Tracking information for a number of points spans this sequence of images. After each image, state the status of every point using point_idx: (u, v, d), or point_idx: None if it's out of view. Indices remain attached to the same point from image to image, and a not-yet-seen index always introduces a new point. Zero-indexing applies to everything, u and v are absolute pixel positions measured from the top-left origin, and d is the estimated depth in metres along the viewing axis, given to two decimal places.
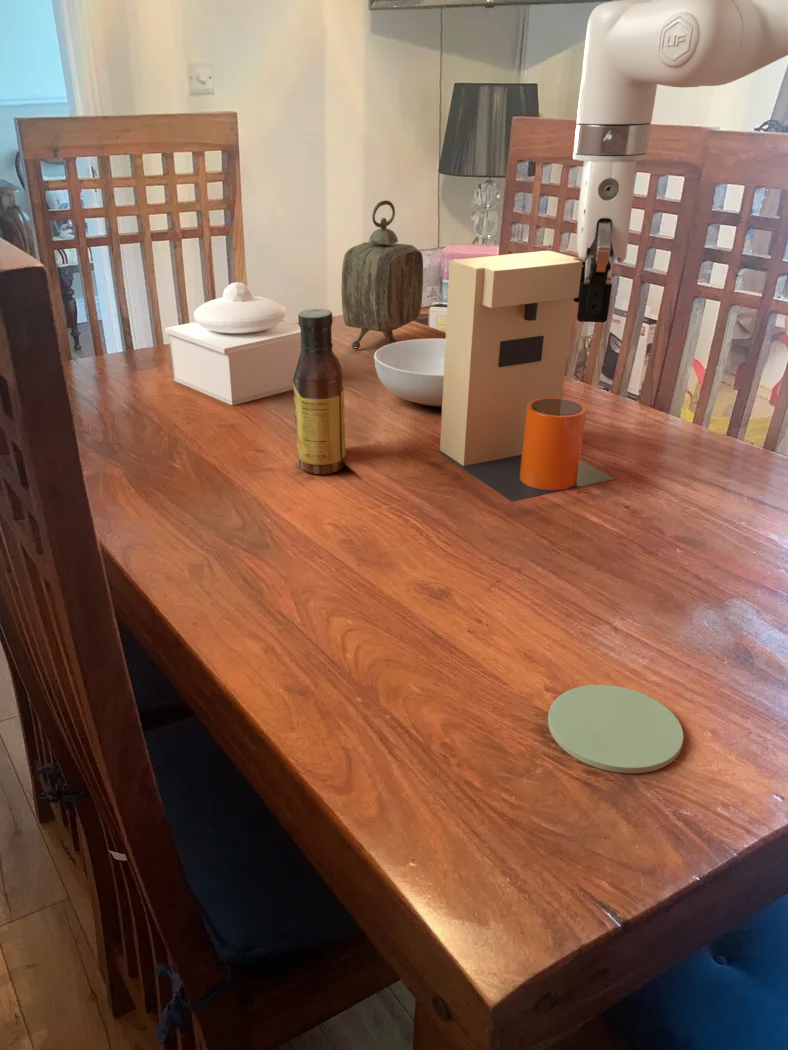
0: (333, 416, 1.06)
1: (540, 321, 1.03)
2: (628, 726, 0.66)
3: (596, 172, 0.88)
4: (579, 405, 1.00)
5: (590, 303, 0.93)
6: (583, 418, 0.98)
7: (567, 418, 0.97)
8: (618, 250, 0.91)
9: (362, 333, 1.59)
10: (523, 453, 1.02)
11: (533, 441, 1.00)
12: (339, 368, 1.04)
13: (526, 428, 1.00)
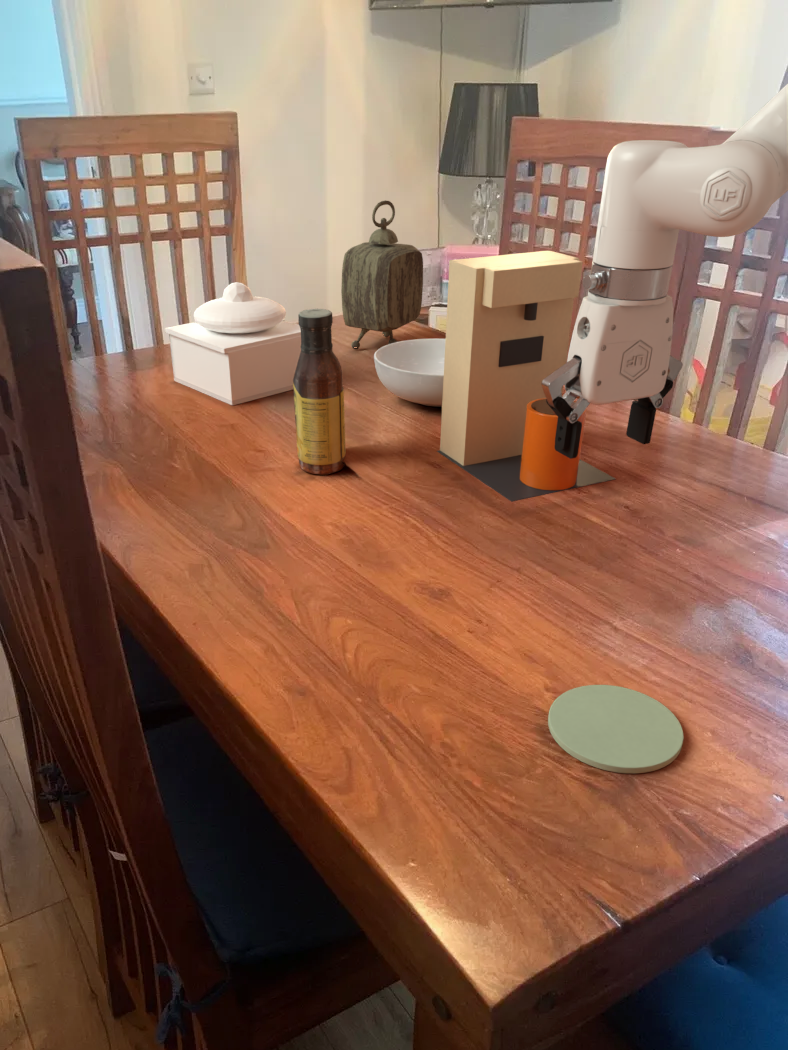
0: (333, 416, 1.06)
1: (540, 321, 1.03)
2: (628, 726, 0.66)
3: (580, 308, 0.86)
4: None
5: (557, 435, 0.91)
6: (583, 418, 0.98)
7: None
8: (584, 391, 0.87)
9: (362, 333, 1.59)
10: (523, 453, 1.02)
11: (533, 441, 1.00)
12: (339, 368, 1.04)
13: (526, 428, 1.00)
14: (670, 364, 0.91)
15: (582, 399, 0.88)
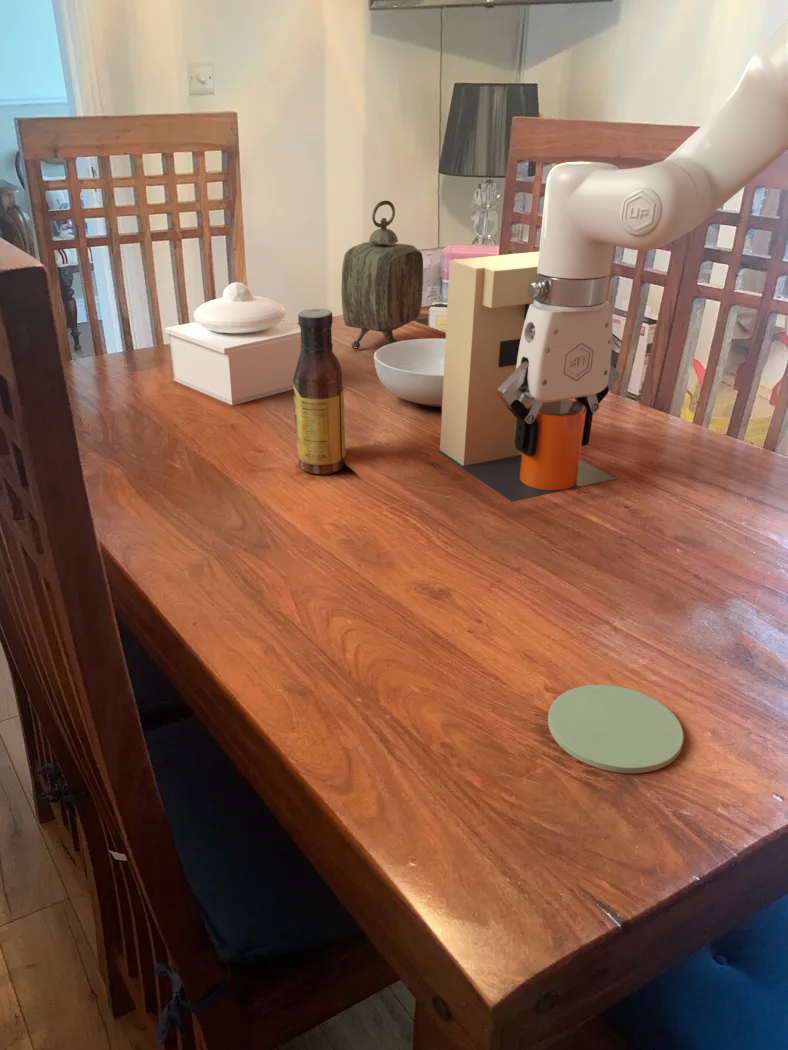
0: (333, 416, 1.06)
1: None
2: (628, 726, 0.66)
3: (527, 314, 0.94)
4: (579, 405, 1.00)
5: (517, 435, 1.00)
6: (583, 418, 0.98)
7: (567, 418, 0.97)
8: (532, 390, 0.95)
9: (362, 333, 1.59)
10: (523, 453, 1.02)
11: None
12: (339, 368, 1.04)
13: None
14: (608, 371, 1.00)
15: (534, 401, 0.96)
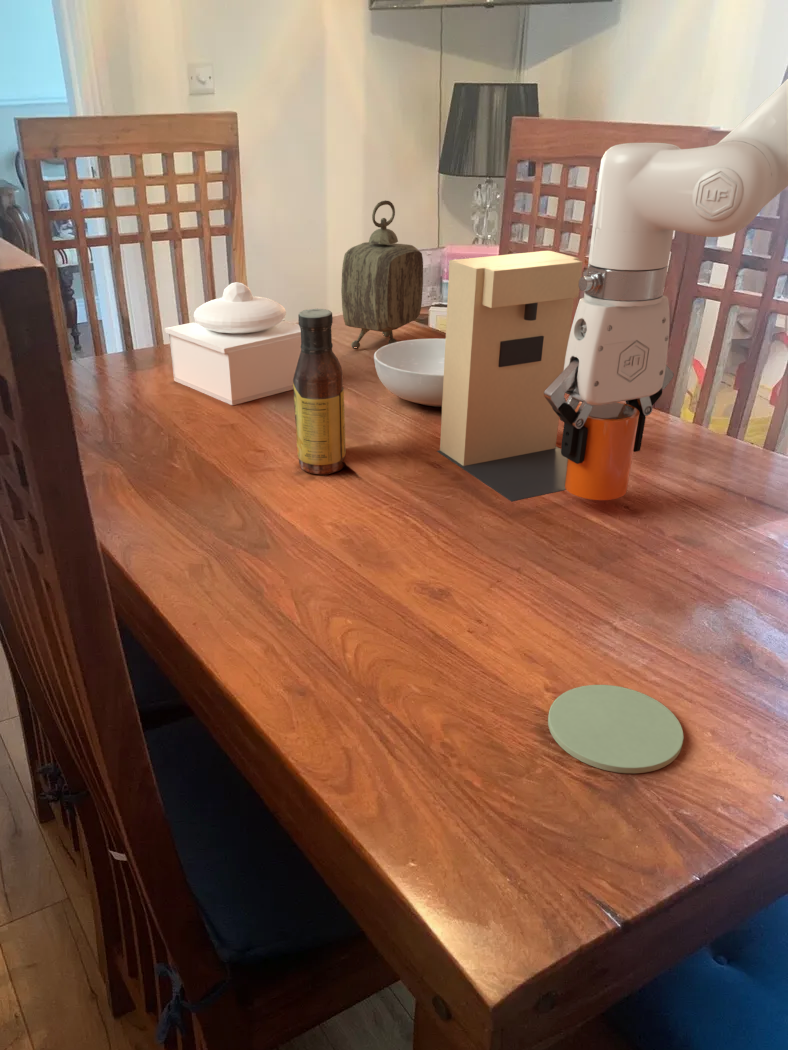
0: (333, 416, 1.06)
1: (540, 321, 1.03)
2: (628, 726, 0.66)
3: (577, 310, 0.86)
4: (631, 407, 0.93)
5: (564, 441, 0.92)
6: (636, 422, 0.91)
7: (619, 422, 0.89)
8: (582, 391, 0.87)
9: (362, 333, 1.59)
10: (569, 460, 0.95)
11: None
12: (339, 368, 1.04)
13: None
14: None
15: (584, 404, 0.89)
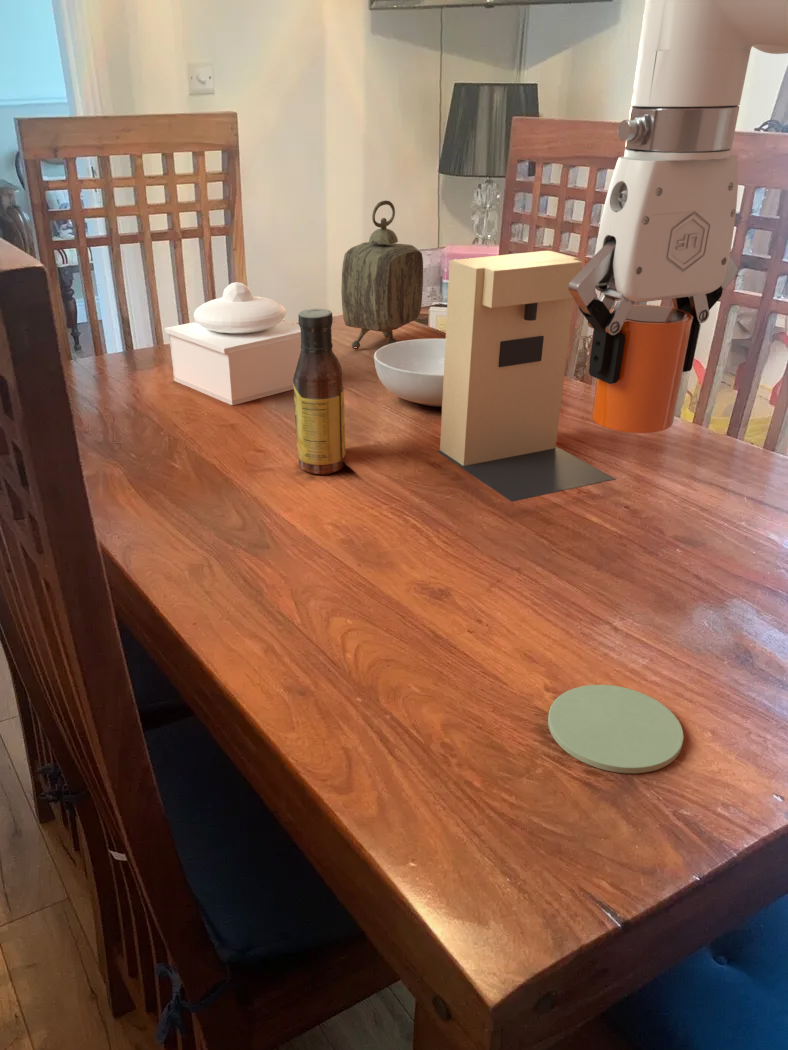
0: (333, 416, 1.06)
1: (540, 321, 1.03)
2: (628, 726, 0.66)
3: (615, 172, 0.65)
4: (681, 311, 0.71)
5: (593, 354, 0.71)
6: (689, 328, 0.69)
7: (667, 326, 0.68)
8: (619, 282, 0.66)
9: (362, 333, 1.59)
10: (599, 381, 0.73)
11: None
12: (339, 368, 1.04)
13: None
14: None
15: (622, 302, 0.67)
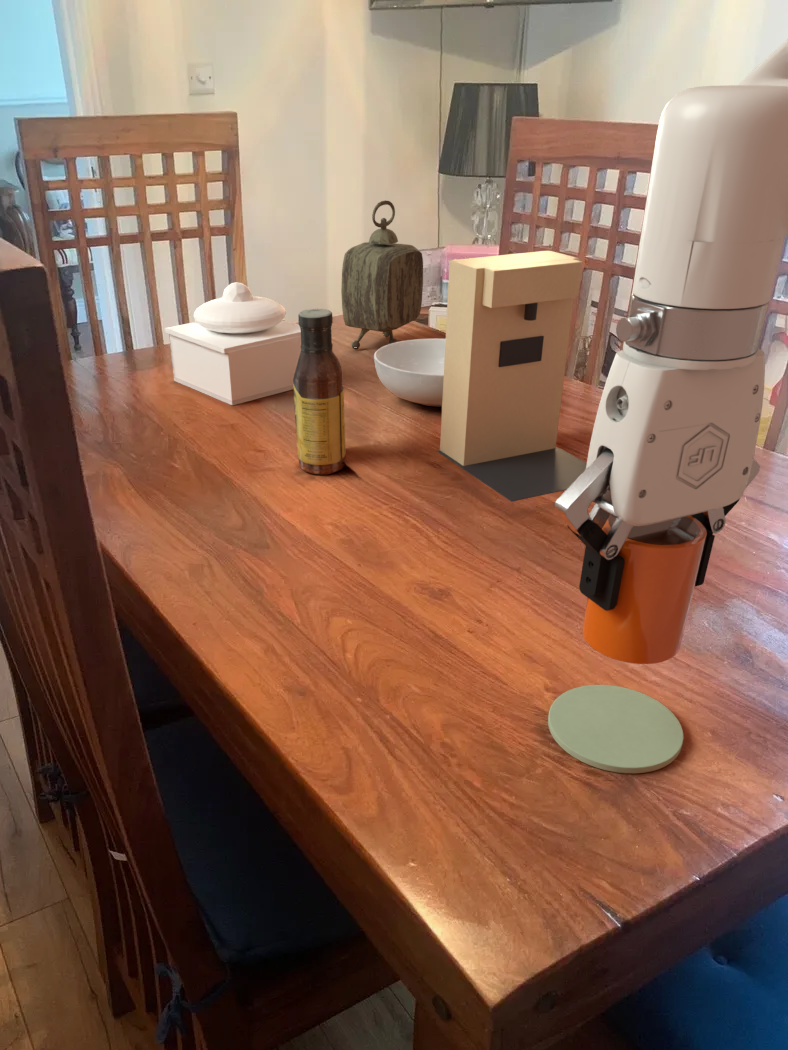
0: (333, 416, 1.06)
1: (540, 321, 1.03)
2: (628, 726, 0.66)
3: (612, 371, 0.52)
4: (692, 521, 0.58)
5: (585, 574, 0.58)
6: (702, 548, 0.56)
7: (677, 551, 0.55)
8: (618, 505, 0.53)
9: (362, 333, 1.59)
10: None
11: None
12: (339, 368, 1.04)
13: None
14: None
15: (621, 523, 0.54)
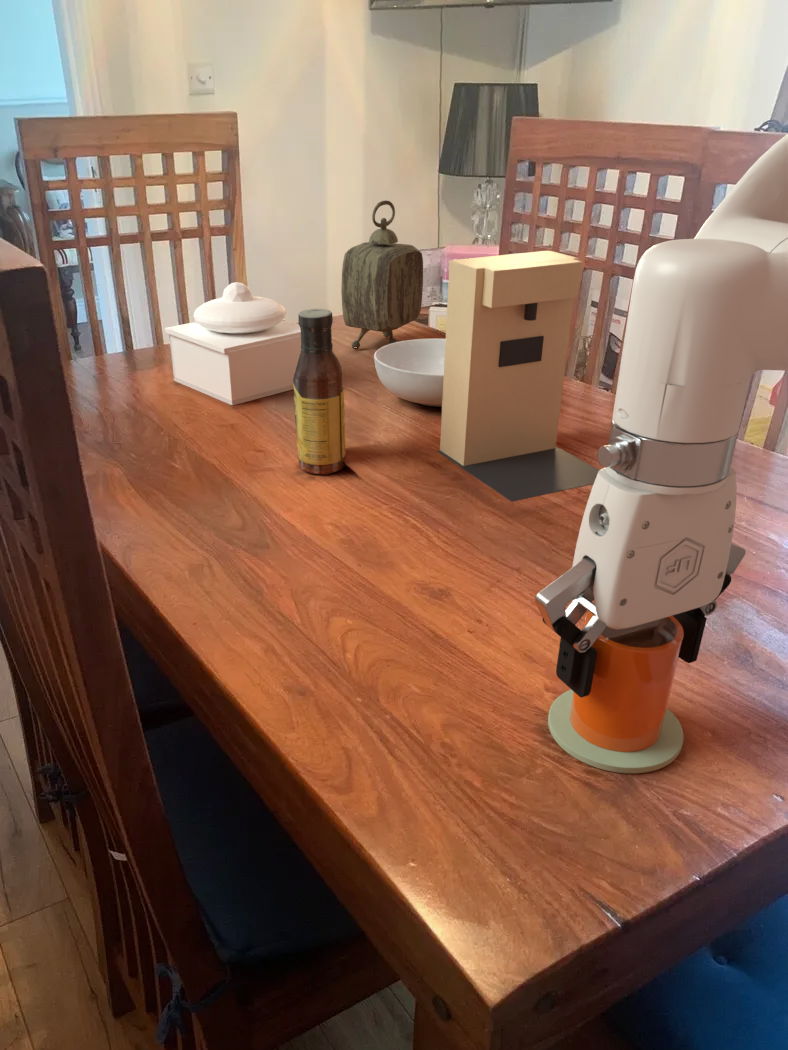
0: (333, 416, 1.06)
1: (540, 321, 1.03)
2: None
3: (594, 488, 0.56)
4: (670, 620, 0.62)
5: (560, 662, 0.61)
6: (679, 648, 0.60)
7: (655, 653, 0.59)
8: (601, 611, 0.57)
9: (362, 333, 1.59)
10: None
11: (597, 681, 0.62)
12: (339, 368, 1.04)
13: None
14: None
15: (597, 620, 0.58)
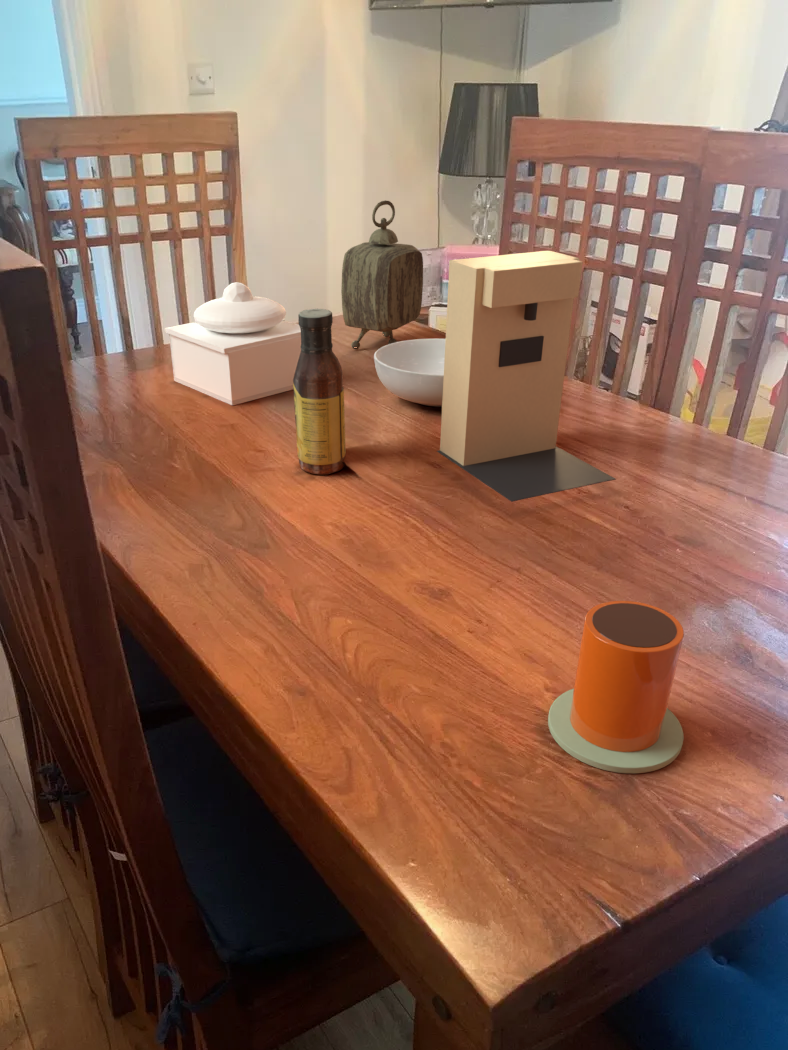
0: (333, 416, 1.06)
1: (540, 321, 1.03)
2: None
3: None
4: (670, 620, 0.62)
5: None
6: (679, 648, 0.60)
7: (655, 653, 0.59)
8: None
9: (362, 333, 1.59)
10: (578, 690, 0.64)
11: (597, 681, 0.62)
12: (339, 368, 1.04)
13: (584, 656, 0.62)
14: None
15: None
